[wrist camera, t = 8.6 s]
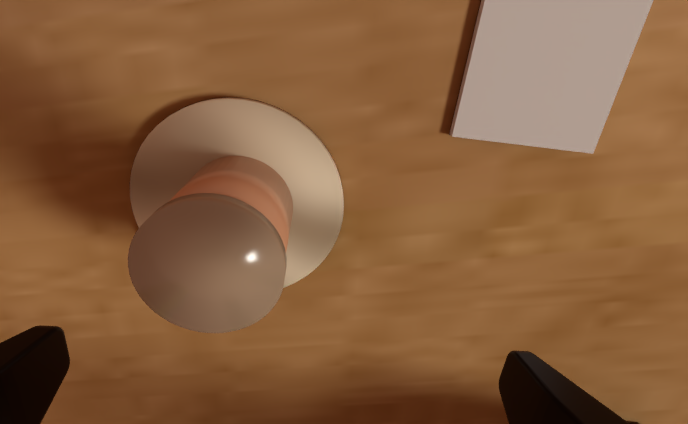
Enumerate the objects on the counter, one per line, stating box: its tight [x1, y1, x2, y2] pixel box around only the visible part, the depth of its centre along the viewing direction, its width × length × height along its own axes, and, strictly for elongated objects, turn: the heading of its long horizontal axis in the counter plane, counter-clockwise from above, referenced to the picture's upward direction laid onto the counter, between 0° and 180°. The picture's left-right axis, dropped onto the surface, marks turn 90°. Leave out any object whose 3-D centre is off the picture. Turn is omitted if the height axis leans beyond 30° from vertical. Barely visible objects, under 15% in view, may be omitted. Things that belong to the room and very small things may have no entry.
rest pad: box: [449, 0, 653, 153], centre depth 17 cm, size 7×7×1 cm
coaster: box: [130, 97, 344, 288], centre depth 19 cm, size 10×10×1 cm
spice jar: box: [128, 156, 293, 333], centre depth 16 cm, size 5×5×6 cm
